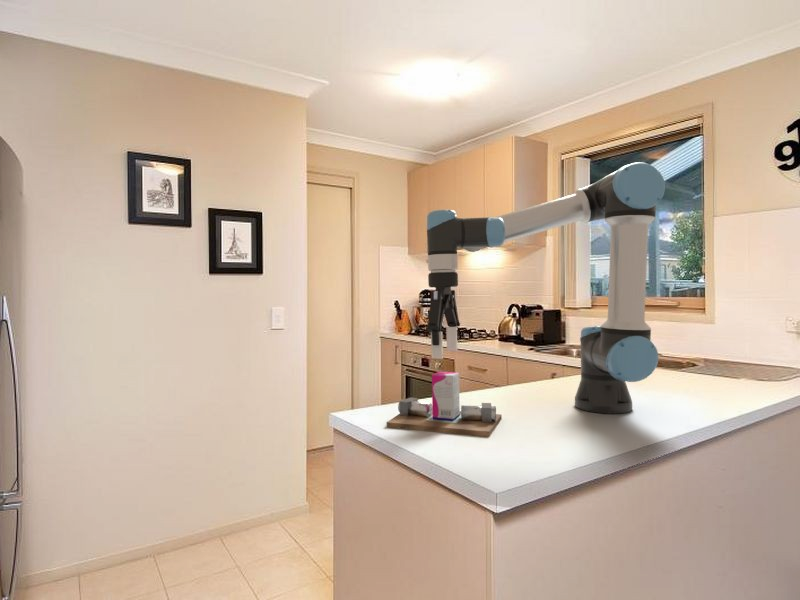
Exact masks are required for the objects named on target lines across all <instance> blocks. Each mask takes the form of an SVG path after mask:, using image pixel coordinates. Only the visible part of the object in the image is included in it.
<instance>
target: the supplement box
mask: <svg viewBox="0 0 800 600" xmlns="http://www.w3.org/2000/svg"><path fill="white" fill-rule="evenodd" d="M431 391H432V392H431V394H432V395H431V396H432V397H431V398H432V399H431V402H432V403H431V404H432V409H433V419H437V420H448V421H454V420H455V419H456V418H458V417H459V416H460V411H461V406H460V373H459V371H458V372H456V371H455V372H454V371H438V372H435V373H433V374H432V375H431Z"/></svg>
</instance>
